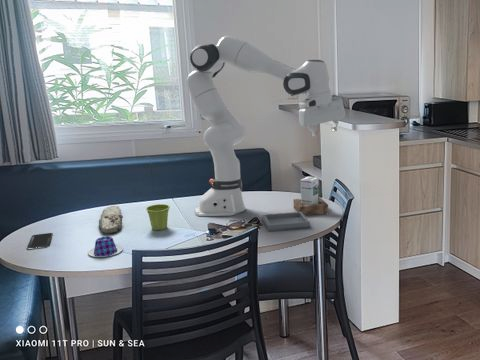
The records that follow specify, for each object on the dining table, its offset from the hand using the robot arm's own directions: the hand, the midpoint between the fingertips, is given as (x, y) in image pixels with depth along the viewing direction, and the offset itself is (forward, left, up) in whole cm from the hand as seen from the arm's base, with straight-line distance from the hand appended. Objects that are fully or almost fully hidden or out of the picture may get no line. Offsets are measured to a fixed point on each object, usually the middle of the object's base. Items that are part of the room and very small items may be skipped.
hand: (324, 133), depth 200 cm
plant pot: (-70, -4, -34) cm, 78 cm away
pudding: (-88, -26, -34) cm, 98 cm away
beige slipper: (-91, +10, -34) cm, 97 cm away
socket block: (-6, +3, -34) cm, 34 cm away
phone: (-115, -9, -34) cm, 120 cm away
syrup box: (-6, +3, -34) cm, 34 cm away
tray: (-20, -12, -34) cm, 41 cm away
